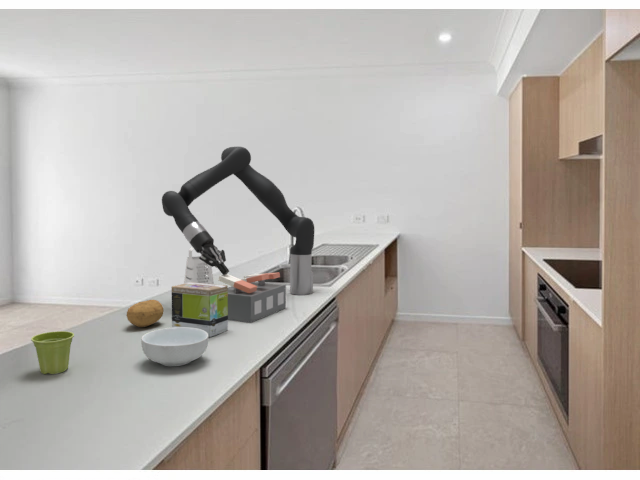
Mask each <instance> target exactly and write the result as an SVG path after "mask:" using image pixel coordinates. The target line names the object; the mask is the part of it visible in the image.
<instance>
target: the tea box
mask: <svg viewBox="0 0 640 480" xmlns="http://www.w3.org/2000/svg"><path fill="white" fill-rule="evenodd" d="M228 287H229V285H228V284H215V283H214V284H205V283H194V282H190V283H185V284H184V283H181V284H177V285H172V286H171V328H173V327H190V328H197V329H201V330H204V331H206V332H207V333H208V338H210V337H214V336H217V335H219V334H222V333H225V332H226V331H228V329H229V320H228Z"/></svg>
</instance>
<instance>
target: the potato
mask: <svg viewBox="0 0 640 480" xmlns="http://www.w3.org/2000/svg"><path fill="white" fill-rule="evenodd" d="M164 310H165V309H164V306H163V304H162V303H161V302H160V301H158V300H157V299H149V300H144V301H139V302H136V303H134V304H133V305H131V306H129V308H128V309H127V311H126V314H125V315H126V318H127V321H128V322H129V323H130V324H131V325H133V326H134V327H139V328H146V327H148V326H151V325H154V324H156V323H157V322H159V320H160V319H161V318H162V317H163V315H164Z"/></svg>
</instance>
